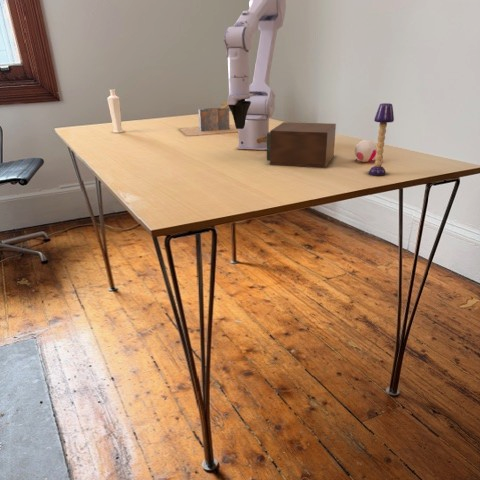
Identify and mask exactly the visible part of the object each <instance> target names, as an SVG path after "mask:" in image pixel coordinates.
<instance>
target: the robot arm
mask: <svg viewBox="0 0 480 480" xmlns="http://www.w3.org/2000/svg"><path fill="white" fill-rule="evenodd" d="M286 1H287V0H249V3H248V5H249V6H248V7H249V8H248V10H243V11H242V12H241V14H240V15H239V17H238V19H237V20H236V21H235V22H234V24H233V26H228V27H227V28H226V29H225V30H224V33H223V46H224V49H225V57H226V59H227V67H228V68H227V69H228V96H227V105H228V108H229V111H230V112H231V115H232V118H233V122H234V125H235V127H236V129H238V132H237V133H238V135H237V136H238V137H237V138H238V140H237V141H238V147H237V149H238V150H251V151H252V150H255V151H267V142H261V143H257V139H258V138H259V137H261V136H263V135H266V136H267V133H269V132H270V129H269V128H270V126H269V125H270V119H271V118H272V117H273V115H274V113H275V107H276V105H275V104H276V102H275V100H276V95H275V92H274V90H273V89H272V88H271V87H270V86H269V82H270V75H271V70H272V65H273V57H274V52H275V45H276V40H277V36H278V30H279V29H281V28H283V25H284V22H285V15H286V9H287V2H286ZM257 31H260V35H259V41H258V47H257V48H258V49H257V53H256V60H255V65H254V70H253V71H254V72H253V77H252V82H251V83H250V51H251V49H252V46H253V41H254V35H255V33H256V32H257ZM265 140H267V139H265Z"/></svg>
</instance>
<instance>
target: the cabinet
mask: <svg viewBox="0 0 480 480" xmlns="http://www.w3.org/2000/svg"><path fill="white" fill-rule="evenodd" d="M336 126H337V124H336V123H326V122H325V123H322V122H292V121H291V122H289V121H285V122H281V123H280V124H278V125H277V126H276V127H274V128H272V129H271V130H269V132H270V133H271V134H270V161H269V165H270V166H289V167H303V168H304V167H305V168H307V167H308V168H326V167H327V166H328V164H329V163H330V162H331V160H332V159H333V158H334V156H335V141H336V128H337V127H336Z"/></svg>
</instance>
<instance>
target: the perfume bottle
mask: <svg viewBox="0 0 480 480" xmlns="http://www.w3.org/2000/svg"><path fill="white" fill-rule="evenodd" d="M109 93H110V95H109V96H108V97H107V98H106V100H107V104H108V109H109V114H110V119H111V122H112V128H113V131H112V133H114V134H115V133H116V134H119V133H124V130H123V127H122V113H121V112H122V111H121V100H120V96H118V95H116V89H115V88H113V89H109Z"/></svg>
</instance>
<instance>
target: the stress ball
mask: <svg viewBox="0 0 480 480" xmlns="http://www.w3.org/2000/svg"><path fill="white" fill-rule="evenodd" d="M376 150H377V144H375V142H374V141H372V140H370V139H363V140H360V141H359V142H358V143H357V144H356V145H355V148H354V154H355V157H356V159H355V160H354V161H355V162H356V161H357V160H359V161H360V162H362V163H368V162H374V159H375V158H376V155H377V153H376Z"/></svg>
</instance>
